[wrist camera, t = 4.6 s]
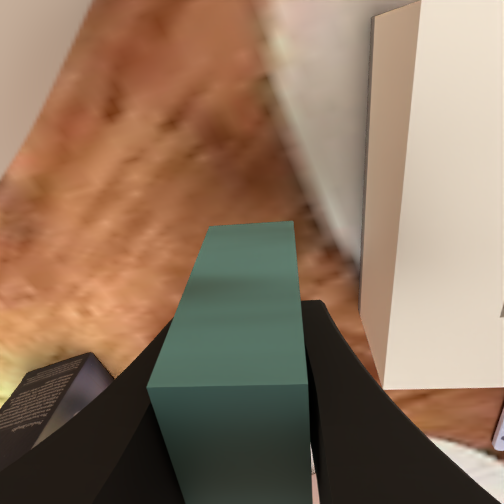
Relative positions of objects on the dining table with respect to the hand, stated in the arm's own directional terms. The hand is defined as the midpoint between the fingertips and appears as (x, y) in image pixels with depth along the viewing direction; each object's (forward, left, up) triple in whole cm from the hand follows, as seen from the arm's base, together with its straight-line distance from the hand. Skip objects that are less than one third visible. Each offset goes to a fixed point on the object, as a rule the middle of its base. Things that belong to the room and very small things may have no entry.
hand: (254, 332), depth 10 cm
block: (0, 0, -2) cm, 2 cm away
